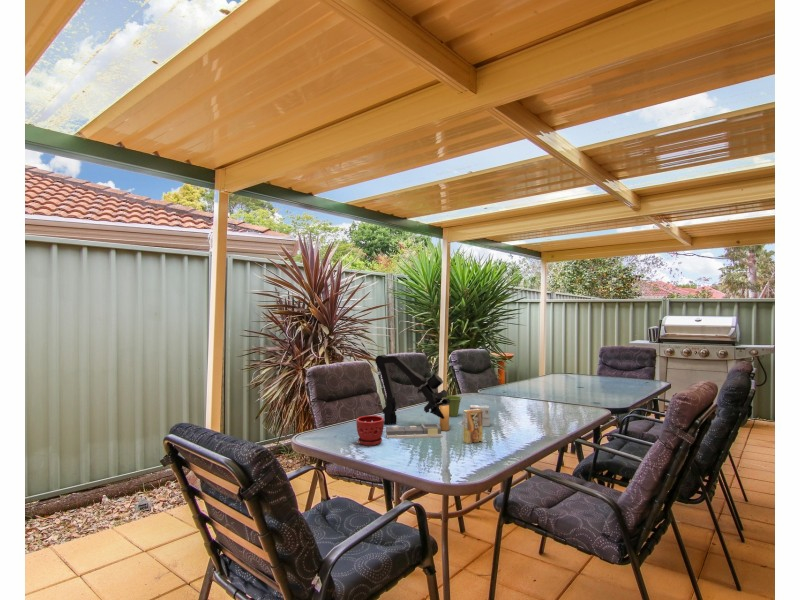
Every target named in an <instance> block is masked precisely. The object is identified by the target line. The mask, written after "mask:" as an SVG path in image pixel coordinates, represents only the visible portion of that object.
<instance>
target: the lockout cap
mask: <svg viewBox="0 0 800 600" xmlns="http://www.w3.org/2000/svg"><path fill="white" fill-rule="evenodd" d="M439 409H440V411H441V412H442V414H443V416H444V419H442V418H440V417H439V426H440V427H441V432H442V431H443V432H447V431H449V430H450V417H449V405H446V404H442V405H440V407H439Z"/></svg>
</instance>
